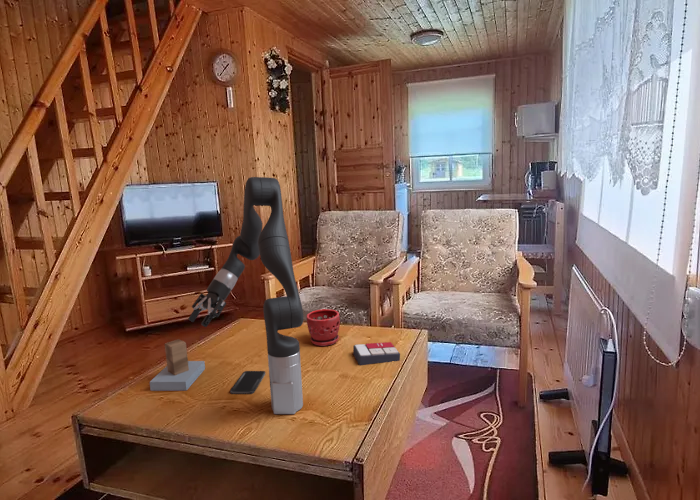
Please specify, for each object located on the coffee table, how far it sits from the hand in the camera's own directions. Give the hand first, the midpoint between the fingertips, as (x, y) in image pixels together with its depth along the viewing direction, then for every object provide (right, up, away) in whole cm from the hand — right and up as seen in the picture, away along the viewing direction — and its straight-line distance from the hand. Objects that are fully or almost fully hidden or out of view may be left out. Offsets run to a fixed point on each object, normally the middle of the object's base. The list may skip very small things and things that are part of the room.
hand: (196, 323), depth 158 cm
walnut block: (-5, -16, -4) cm, 17 cm away
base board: (-5, -19, -3) cm, 19 cm away
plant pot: (+43, -12, +25) cm, 51 cm away
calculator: (+63, -14, +9) cm, 65 cm away
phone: (+20, -19, -8) cm, 28 cm away
